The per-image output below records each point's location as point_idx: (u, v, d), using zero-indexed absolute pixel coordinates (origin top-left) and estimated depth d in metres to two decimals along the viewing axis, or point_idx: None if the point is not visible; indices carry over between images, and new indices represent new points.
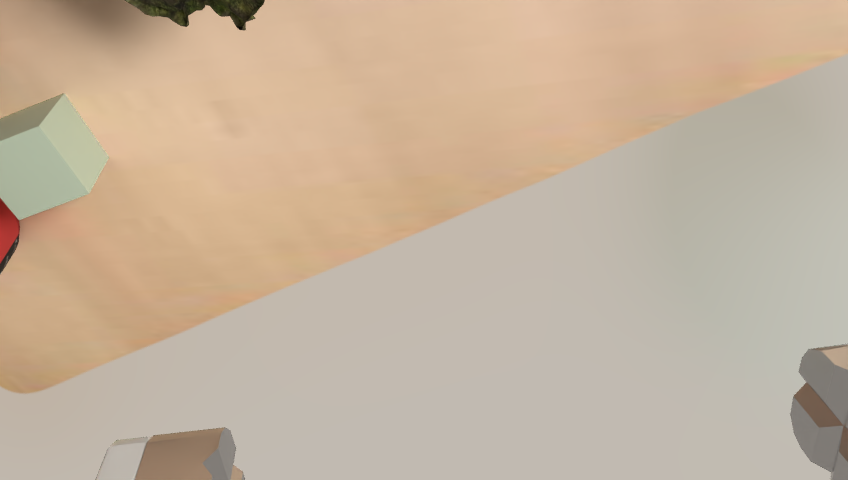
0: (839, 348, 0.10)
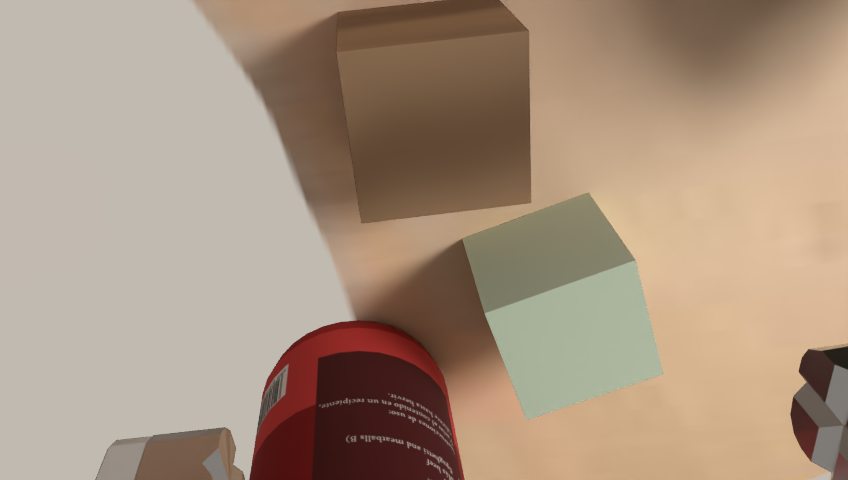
0: (840, 348, 0.10)
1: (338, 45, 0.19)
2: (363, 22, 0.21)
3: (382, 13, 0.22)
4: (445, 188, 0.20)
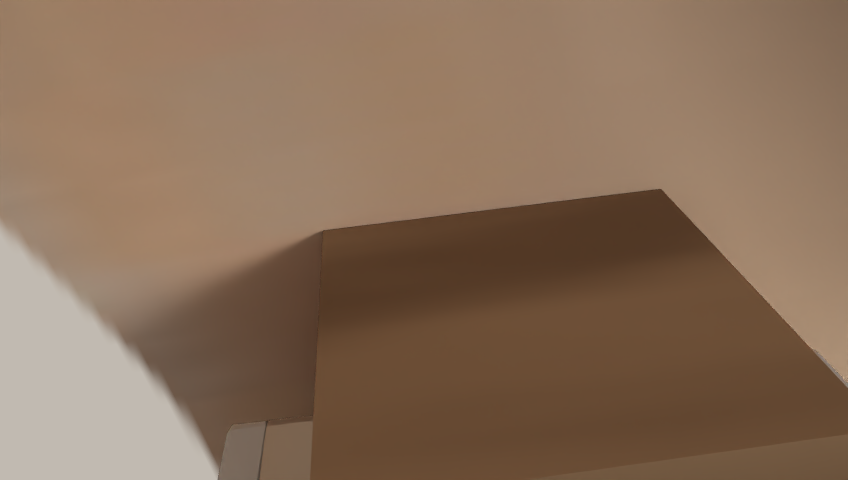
0: None
1: (317, 451, 0.07)
2: (382, 296, 0.09)
3: (424, 253, 0.10)
4: None
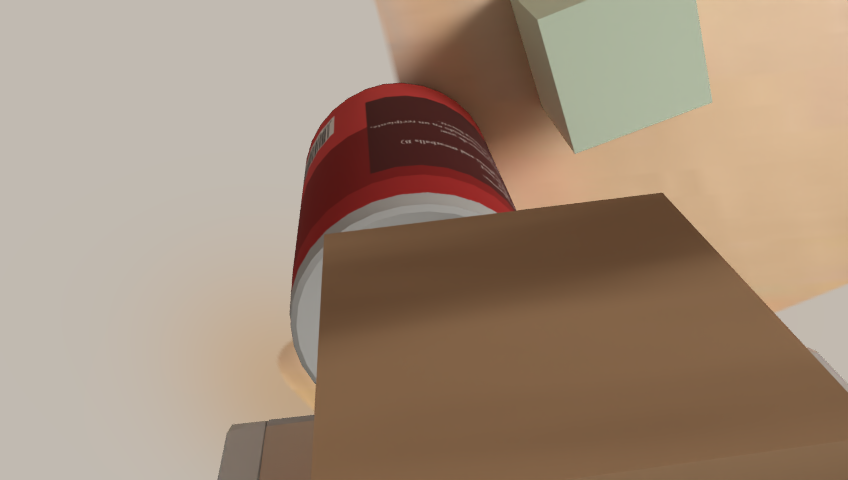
0: None
1: (318, 457, 0.07)
2: (383, 300, 0.09)
3: (425, 257, 0.10)
4: None
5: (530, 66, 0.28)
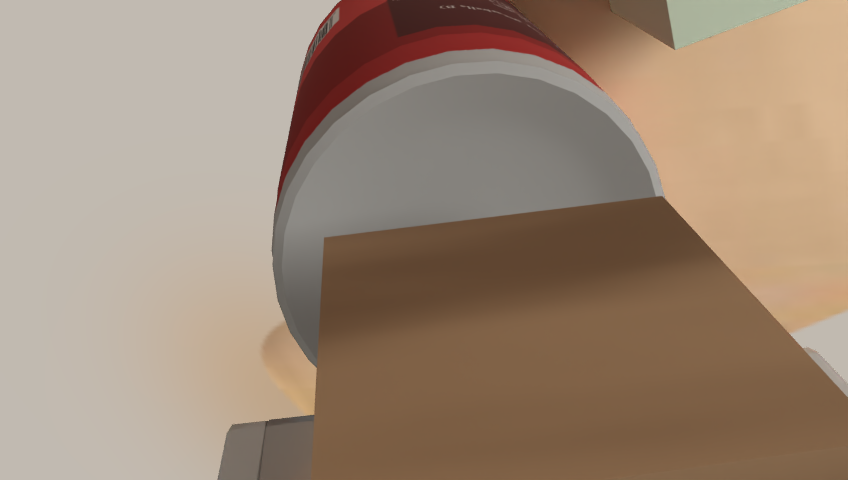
0: None
1: (317, 462, 0.07)
2: (383, 304, 0.09)
3: (425, 260, 0.10)
4: None
5: None
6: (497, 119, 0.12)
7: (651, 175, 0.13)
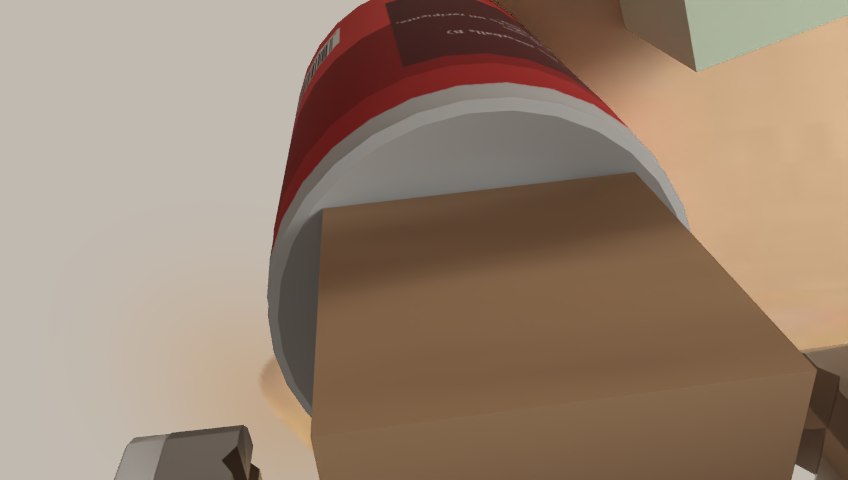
0: (822, 350, 0.10)
1: (318, 391, 0.07)
2: (377, 264, 0.10)
3: (415, 227, 0.10)
4: None
5: None
6: (512, 159, 0.11)
7: (678, 217, 0.12)
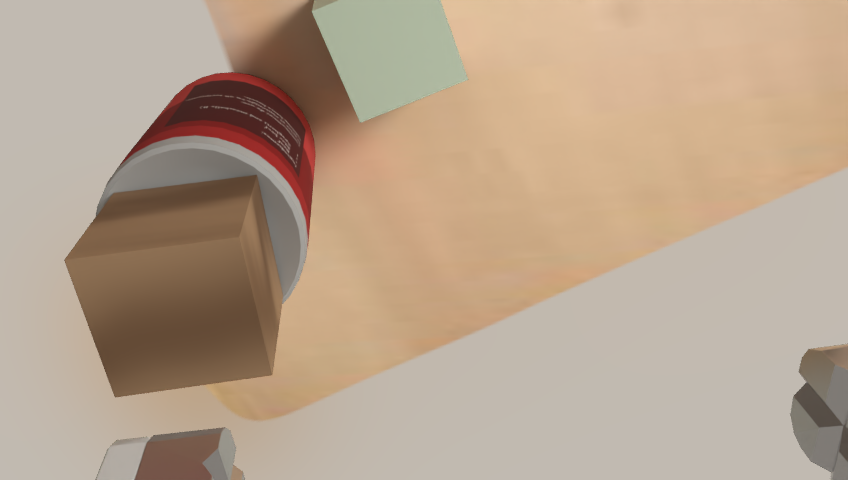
0: (839, 348, 0.10)
1: (73, 249, 0.21)
2: (121, 212, 0.23)
3: (146, 199, 0.24)
4: (188, 366, 0.22)
5: None
6: (201, 169, 0.25)
7: (284, 196, 0.26)
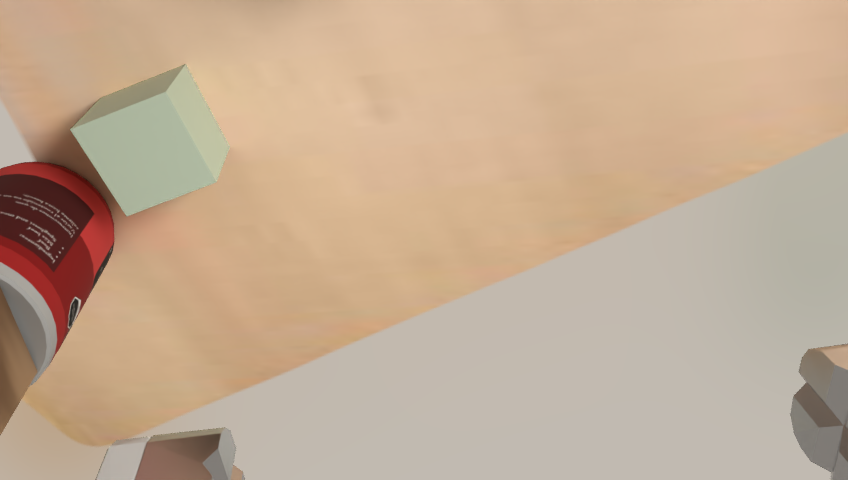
0: (839, 348, 0.10)
1: None
2: None
3: None
4: None
5: None
6: None
7: (24, 296, 0.31)
